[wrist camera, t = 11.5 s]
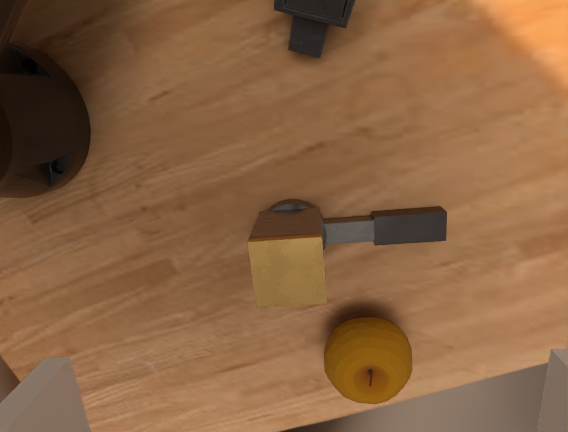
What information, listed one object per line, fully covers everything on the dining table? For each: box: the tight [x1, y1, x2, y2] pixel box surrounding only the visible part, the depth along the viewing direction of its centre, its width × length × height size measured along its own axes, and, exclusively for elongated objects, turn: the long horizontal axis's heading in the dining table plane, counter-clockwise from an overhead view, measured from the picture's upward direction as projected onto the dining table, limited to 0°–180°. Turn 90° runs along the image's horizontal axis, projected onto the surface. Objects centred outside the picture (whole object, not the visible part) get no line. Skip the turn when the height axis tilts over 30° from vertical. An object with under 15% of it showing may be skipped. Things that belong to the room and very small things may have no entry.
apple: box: [324, 317, 412, 404], centre depth 41 cm, size 9×9×9 cm
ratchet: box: [268, 199, 447, 251], centre depth 38 cm, size 19×7×7 cm, turn 96°
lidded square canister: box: [247, 207, 327, 308], centre depth 36 cm, size 6×6×8 cm
